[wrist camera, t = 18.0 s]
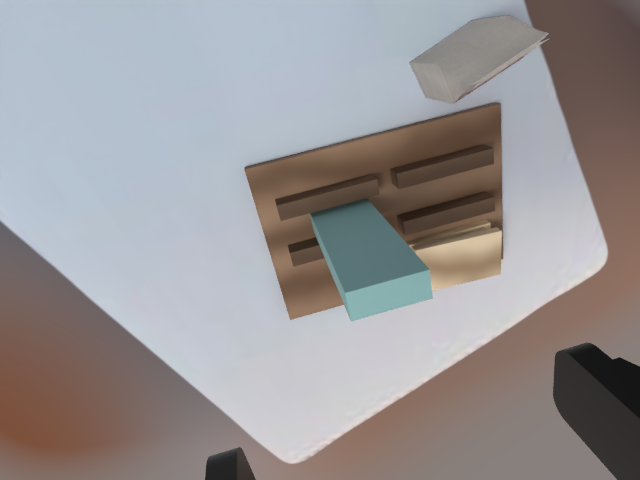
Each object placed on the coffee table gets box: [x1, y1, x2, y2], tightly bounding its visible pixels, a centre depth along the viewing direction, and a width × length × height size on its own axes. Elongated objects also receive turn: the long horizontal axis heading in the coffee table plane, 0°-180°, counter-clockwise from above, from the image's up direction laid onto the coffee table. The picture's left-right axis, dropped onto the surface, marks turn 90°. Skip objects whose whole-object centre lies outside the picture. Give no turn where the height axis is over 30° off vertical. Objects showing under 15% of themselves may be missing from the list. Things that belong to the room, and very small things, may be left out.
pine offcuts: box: [406, 219, 502, 291], centre depth 46 cm, size 6×10×3 cm, turn 102°
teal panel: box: [310, 198, 433, 321], centre depth 36 cm, size 2×6×16 cm, turn 102°
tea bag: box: [409, 15, 549, 104], centre depth 35 cm, size 4×7×10 cm, turn 122°
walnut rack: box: [245, 103, 503, 320], centre depth 43 cm, size 18×26×3 cm
